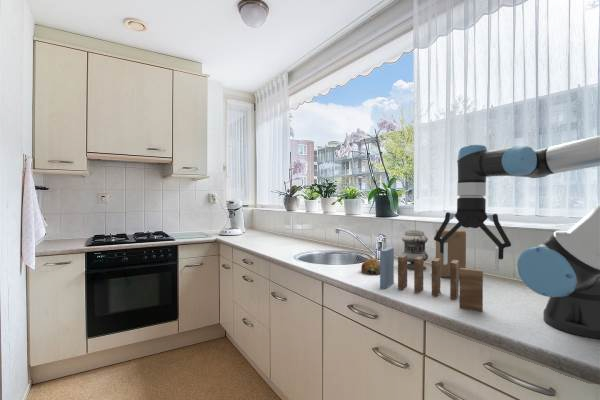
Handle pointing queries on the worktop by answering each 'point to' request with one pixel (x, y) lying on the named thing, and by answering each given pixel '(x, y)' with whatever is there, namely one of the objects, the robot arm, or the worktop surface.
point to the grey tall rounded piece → (414, 246)
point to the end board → (386, 267)
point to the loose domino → (471, 289)
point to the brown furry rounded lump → (371, 267)
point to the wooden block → (452, 251)
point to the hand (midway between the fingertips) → (470, 267)
